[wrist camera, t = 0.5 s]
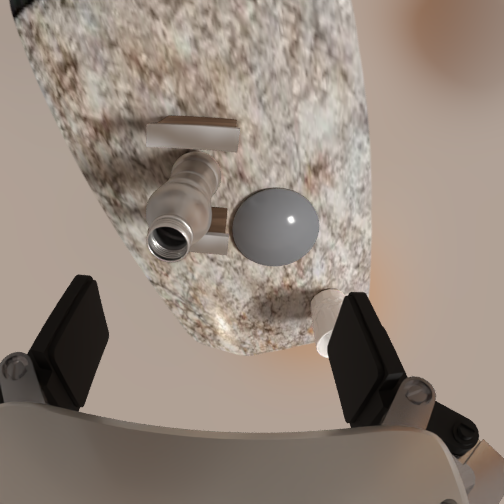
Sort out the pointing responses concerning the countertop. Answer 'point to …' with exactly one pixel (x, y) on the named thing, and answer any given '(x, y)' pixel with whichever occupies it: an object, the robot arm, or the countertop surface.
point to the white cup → (325, 317)
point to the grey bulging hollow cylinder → (182, 206)
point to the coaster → (275, 227)
